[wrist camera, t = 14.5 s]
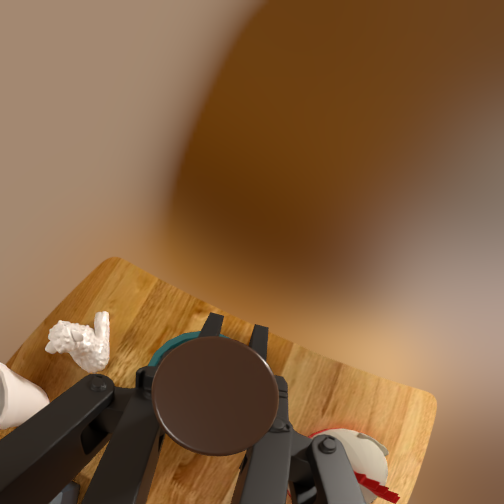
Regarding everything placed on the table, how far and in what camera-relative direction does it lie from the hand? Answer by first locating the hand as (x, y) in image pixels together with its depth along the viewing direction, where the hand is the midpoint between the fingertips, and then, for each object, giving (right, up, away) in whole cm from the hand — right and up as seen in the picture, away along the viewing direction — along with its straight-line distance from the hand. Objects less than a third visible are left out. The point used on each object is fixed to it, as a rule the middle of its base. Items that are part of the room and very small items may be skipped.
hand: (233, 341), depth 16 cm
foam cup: (-33, -19, +15) cm, 40 cm away
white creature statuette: (-23, -10, +22) cm, 33 cm away
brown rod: (-2, -8, +6) cm, 11 cm away
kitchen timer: (+12, -27, +17) cm, 34 cm away
